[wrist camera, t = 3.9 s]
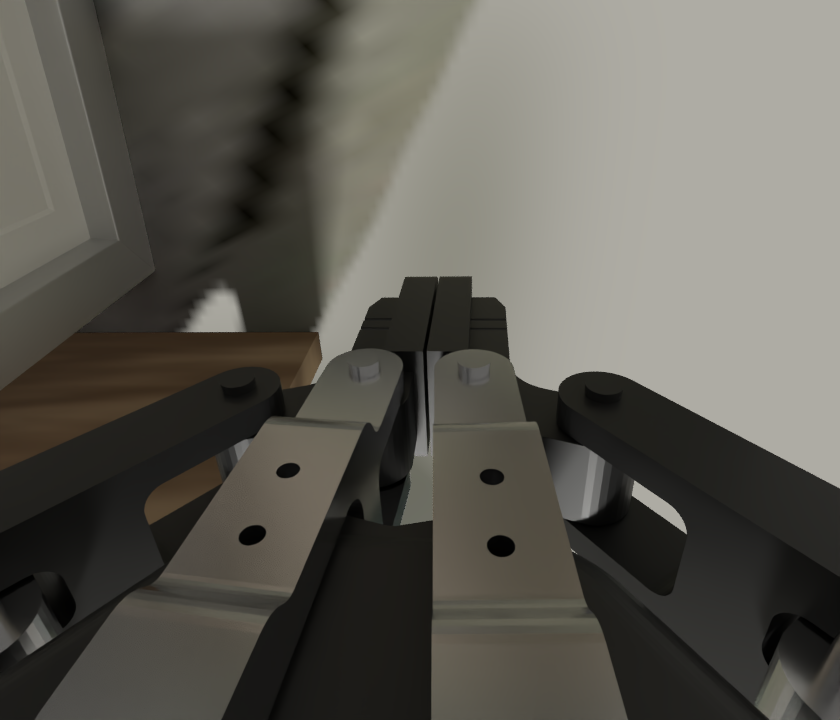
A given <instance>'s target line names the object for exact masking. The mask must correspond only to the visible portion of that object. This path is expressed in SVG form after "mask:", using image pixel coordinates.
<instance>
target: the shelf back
mask: <svg viewBox="0 0 840 720" xmlns="http://www.w3.org/2000/svg"><path fill="white" fill-rule="evenodd" d="M321 360H322V353H321V347H320V340H319V334H318V332H130V333H74V334H73V335H72V336H70V337H69V338H68V339H66V340H65V341H64V342H62V343H61V344H60V345H59V346H57V347H56V348H55V349H53V350H52V351H51V352H50V353H48V354H47V355H46V356H44V357H43V358H42V359H40V360H39V361H38V362H37V363H35V364H34V365H33V366H31V367H30V368H29V369H27V370H26V371H25V372H24V373H22V374H21V375H20V376H18V377H17V378H16V379H15V380H13V381H12V382H11V383H9V384H8V385H7V386H5V387H4V388H3V389H2V390H0V471H1V470H3V469H5V468H8V467H10V466H12V465H14V464H17V463H19V462H21V461H23V460H26V459H28V458H30V457H32V456H35V455H37V454H39V453H41V452H44V451H46V450H48V449H50V448H53V447H55V446H57V445H59V444H62V443H64V442H66V441H68V440H71V439H73V438H75V437H77V436H80V435H82V434H84V433H86V432H89V431H91V430H93V429H95V428H98V427H100V426H102V425H104V424H107V423H109V422H111V421H114V420H116V419H118V418H120V417H123V416H125V415H127V414H129V413H132V412H134V411H136V410H138V409H141V408H143V407H145V406H147V405H150V404H152V403H154V402H156V401H159V400H161V399H163V398H165V397H168V396H170V395H172V394H174V393H177V392H179V391H181V390H183V389H186V388H188V387H190V386H192V385H195V384H197V383H199V382H201V381H204V380H206V379H208V378H210V377H213V376H215V375H217V374H220V373H222V372H225V371H228V370H231V369H236V368H241V367H263V368H267V369H270V370H272V371H274V372H275V373H277V374H278V376H279V377H280V381H281V386H282V390H283V389H289V388H295V387H300V386H306V385H310V384H311V382H312V380H313V378H314V375H315V373H316V371H317V369H318V367H319V365H320V363H321ZM220 484H222V479H221V476H220V472H219V469H218V465H217V462H216V458H215V456H213V457H211V458H210V459H208V460H206V461H204V462H202V463H200V464H198V465H197V466H195V467H193V468H191V469H189V470H187V471H185V472H184V473H182V474H180V475H178V476H176V477H174V478H172V479H171V480H169V481H167V482H165V483H163V484H161V485H160V486H158V487H157V488H156V489H155V490H154V491H153V492H152V493H151V494H150V495H149V497H148V499H147V501H146V503H145V508H144V512H145V516H146V519H147V521H148V524H149V525H150V524H152V523H154V522H156V521H157V520H159V519H161V518H163V517H164V516H166V515H168V514H170V513H171V512H173V511H175V510H177V509H178V508H180V507H182V506H183V505H185V504H187V503H189V502H190V501H192V500H194V499H196V498H197V497H199V496H201V495H203V494H204V493H206V492H208V491H210V490H211V489H213V488H215V487H216V486H218V485H220ZM33 575H34V574H33Z"/></svg>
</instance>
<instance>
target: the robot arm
mask: <svg viewBox="0 0 840 720" xmlns="http://www.w3.org/2000/svg"><path fill="white" fill-rule="evenodd" d="M430 441H431V442H430ZM429 442H430V443H431V456H433V520H432V521H426V522H419V523H413V524H406V525H401V521H402V517H403V513H404V510H405V506H406V502H407V499H408V495H409V491H410V487H411V478H410V470H411V468H412V465H413V459H414V456H428V449H429ZM213 456H215V458H216V462H217V465H218V469H219V472H220V476H221V479H222V484H220V485H218V486H216V487H215V488H213V489H211V490H210V491H208V492H206V493H204V494H203V495H201V496H199V497H197V498H196V499H194V500H192V501H190V502H189V503H187V504H185V505H183V506H182V507H180V508H178V509H177V510H175V511H173V512H171V513H170V514H168V515H166V516H164V517H163V518H161V519H159V520H157V521H156V522H154V523H152V524H150V525H149V524H148V521H147V519H146V516H145V512H144V508H145V503H146V501H147V499H148V497H149V495H150V494H151V493H152V492H153V491H154V490H155V489H156V488H157V487H158V486H160V485H161V484H163V483H165V482H167V481H169V480H171V479H172V478H174V477H176V476H178V475H180V474H182V473H184V472H185V471H187V470H189V469H191V468H193V467H195V466H197V465H198V464H200V463H202V462H204V461H206V460H208V459H210V458H211V457H213ZM634 480H635V481H637V482H638V483H639V484H641V485H642V486H644V487H645V488H647V489H648V490H650V491H651V492H653V493H654V494H656V495H657V496H659V497H660V498H661V499H663V500H664V501H666V502H667V503H669V504H670V505H671V506H672V507H673V508H675V509H676V511H677V512H678V513H679V514H680V516H681V517H682V519H683V521H684V523H685V526H686V530H687V534H685V533H684V532H683V531H681V530H679V529H678V528H677V527H675V526H674V525H673V524H671V523H670V522H668V521H667V520H666V519H664V518H663V517H661V516H660V515H658V514H657V513H655V512H654V511H653V510H651V509H650V508H649V507H647V506H646V505H644V504H643V503H641V502H640V501H639V500H637V499H636V498H634V497H633V496H632V490H633V485H634ZM571 549H572V550H574V551H575V552H576V553H577V554H576V553H574V552H572V551H571ZM33 574H34V575H33ZM0 720H840V489H839V488H837V487H836V486H834V485H832V484H830V483H828V482H826V481H824V480H822V479H820V478H818V477H816V476H815V475H813V474H811V473H809V472H806V471H805V470H803V469H801V468H799V467H797V466H795V465H794V464H791V463H790V462H788V461H786V460H784V459H782V458H780V457H778V456H776V455H774V454H772V453H770V452H768V451H766V450H765V449H763V448H761V447H759V446H757V445H755V444H753V443H751V442H749V441H747V440H746V439H744V438H742V437H740V436H738V435H736V434H734V433H732V432H730V431H728V430H727V429H725V428H723V427H721V426H719V425H717V424H715V423H713V422H711V421H709V420H707V419H705V418H703V417H701V416H700V415H698V414H696V413H694V412H692V411H690V410H688V409H686V408H684V407H682V406H680V405H679V404H677V403H675V402H673V401H671V400H669V399H667V398H665V397H663V396H661V395H659V394H657V393H656V392H654V391H652V390H650V389H648V388H646V387H644V386H642V385H640V384H638V383H636V382H635V381H633V380H631V379H628V378H626V377H623V376H620V375H616V374H613V373H607V372H583V373H578V374H575V375H572V376H570V377H568V378H566V379H565V380H564V381H562V383H561V384H560V386H559V391H558V392H557V391H552V390H548V389H543V388H539V387H536V386H533V385H530V384H528V383H526V382H524V381H523V380H521V379H519V378H518V377H517V376H516V375H515V371H514V367H513V365H512V363H511V362H510V359H509V347H508V335H507V323H506V310H505V306H503V305H502V304H501V303H500V302H499V301H498V300H497V299H496V298H494V297H490V298H489V297H486V298H483V297H481V298H479V297H476V298H475V297H473V298H472V277H469V276H467V277H466V276H465V277H464V276H463V277H440V278H439V283H438V278H437V277H405V279H404V282H403V286H402V289H401V292H400V295H399V298H381V299H380V300H379V301H377V302H376V303H375V304H373V305H372V306H370V307H369V309H368V312H367V314H366V317H365V321H363V324H362V326H361V330H360V331H359V334H358V336H357V338H356V341H355V343H354V346H353V348H352V351H349V352H346V353H344V354H341V355H339V356H337V357H335V358H334V359H332V360H331V361H330V363H329V364H328V365H327V366H326V368H325V370H324V371H323V373H322V375H321V376H320V378H319V379H318V381H317V383H315V384H311V385H306V386H300V387H295V388H289V389H283V390H282V386H281V381H280V377H279V376H278V374H277V373H275V372H274V371H272V370H270V369H267V368H263V367H241V368H236V369H231V370H228V371H225V372H222V373H220V374H217V375H215V376H213V377H210V378H208V379H206V380H204V381H201V382H199V383H197V384H195V385H192V386H190V387H188V388H186V389H183V390H181V391H179V392H177V393H174V394H172V395H170V396H168V397H165V398H163V399H161V400H159V401H156V402H154V403H152V404H150V405H147V406H145V407H143V408H141V409H138V410H136V411H134V412H132V413H129V414H127V415H125V416H123V417H120V418H118V419H116V420H114V421H111V422H109V423H107V424H104V425H102V426H100V427H98V428H95V429H93V430H91V431H89V432H86V433H84V434H82V435H80V436H77V437H75V438H73V439H71V440H68V441H66V442H64V443H62V444H59V445H57V446H55V447H53V448H50V449H48V450H46V451H44V452H41V453H39V454H37V455H35V456H32V457H30V458H28V459H26V460H23V461H21V462H19V463H17V464H14V465H12V466H10V467H8V468H5V469H3V470H1V471H0Z"/></svg>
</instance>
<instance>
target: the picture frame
mask: <svg viewBox="0 0 840 720" xmlns="http://www.w3.org/2000/svg"><path fill="white" fill-rule="evenodd" d="M154 271H155V266H154V262H153V258H152V253H151V249H150V244H149V240H148V236H147V231H146V227H145V223H144V218H143V214H142V210H141V205H140V201H139V197H138V192H137V188H136V183H135V179H134V175H133V170H132V166H131V162H130V157H129V153H128V149H127V144H126V140H125V135H124V131H123V127H122V122H121V118H120V114H119V109H118V105H117V101H116V96H115V92H114V88H113V83H112V79H111V74H110V70H109V66H108V61H107V57H106V53H105V48H104V44H103V40H102V35H101V31H100V26H99V22H98V18H97V13H96V9H95V5H94V0H0V390H2V389H3V388H4V387H5V386H7V385H8V384H9V383H11V382H12V381H13V380H15V379H16V378H17V377H18V376H20V375H21V374H22V373H24V372H25V371H26V370H27V369H29V368H30V367H31V366H33V365H34V364H35V363H37V362H38V361H39V360H40V359H42V358H43V357H44V356H46V355H47V354H48V353H50V352H51V351H52V350H53V349H55V348H56V347H57V346H59V345H60V344H61V343H62V342H64V341H65V340H66V339H68V338H69V337H70V336H72V335H73V334H74V333H75V332H77V331H78V330H79V329H81V328H82V327H83V326H84V325H86V324H87V323H88V322H90V321H91V320H92V319H94V318H95V317H96V316H97V315H99V314H100V313H101V312H103V311H104V310H105V309H106V308H108V307H109V306H110V305H112V304H113V303H114V302H116V301H117V300H118V299H119V298H121V297H122V296H123V295H125V294H126V293H127V292H128V291H130V290H131V289H132V288H134V287H135V286H136V285H138V284H139V283H140V282H141V281H143V280H144V279H145V278H147V277H148V276H149V275H150V274H152V273H153V272H154Z"/></svg>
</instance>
